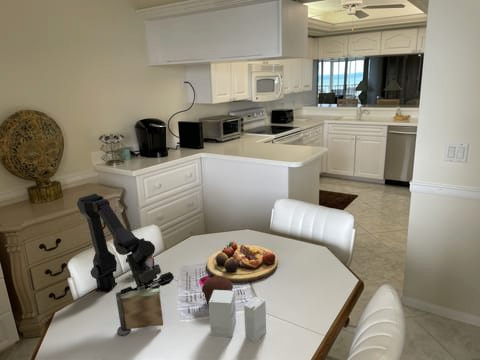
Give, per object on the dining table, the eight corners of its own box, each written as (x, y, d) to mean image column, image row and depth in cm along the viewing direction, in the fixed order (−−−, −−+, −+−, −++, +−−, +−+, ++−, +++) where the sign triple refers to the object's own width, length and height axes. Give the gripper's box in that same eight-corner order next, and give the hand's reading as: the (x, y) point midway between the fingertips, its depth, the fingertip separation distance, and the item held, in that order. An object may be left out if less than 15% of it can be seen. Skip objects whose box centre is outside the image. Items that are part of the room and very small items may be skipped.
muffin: (220, 290, 142) (219, 267, 139) (240, 301, 134) (238, 277, 131) (196, 304, 134) (194, 280, 131) (216, 316, 126) (214, 291, 123)
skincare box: (256, 327, 120) (254, 295, 116) (267, 332, 117) (266, 300, 113) (244, 337, 115) (242, 304, 112) (255, 343, 112) (254, 309, 109)
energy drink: (151, 270, 159) (148, 246, 156) (140, 270, 160) (137, 245, 157) (156, 264, 164) (153, 240, 161) (146, 264, 165) (142, 240, 162)
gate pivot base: (120, 338, 118) (119, 335, 117) (115, 331, 121) (115, 328, 121) (133, 332, 120) (132, 329, 120) (128, 325, 123) (128, 323, 123)
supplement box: (232, 337, 115) (230, 303, 112) (210, 336, 116) (207, 302, 113) (237, 322, 122) (235, 290, 119) (215, 321, 123) (213, 289, 120)
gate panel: (120, 330, 119) (114, 295, 116) (121, 326, 121) (116, 292, 117) (163, 325, 120) (159, 291, 117) (164, 322, 122) (159, 288, 119)
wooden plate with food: (290, 257, 166) (289, 240, 163) (255, 291, 140) (253, 272, 138) (232, 244, 183) (231, 229, 181) (192, 272, 157) (190, 255, 155)
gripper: (116, 268, 115) (133, 315, 109) (169, 251, 126) (187, 292, 120) (111, 280, 123) (127, 324, 118) (161, 262, 134) (178, 302, 128)
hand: (155, 310), depth 121 cm, fingers closed
